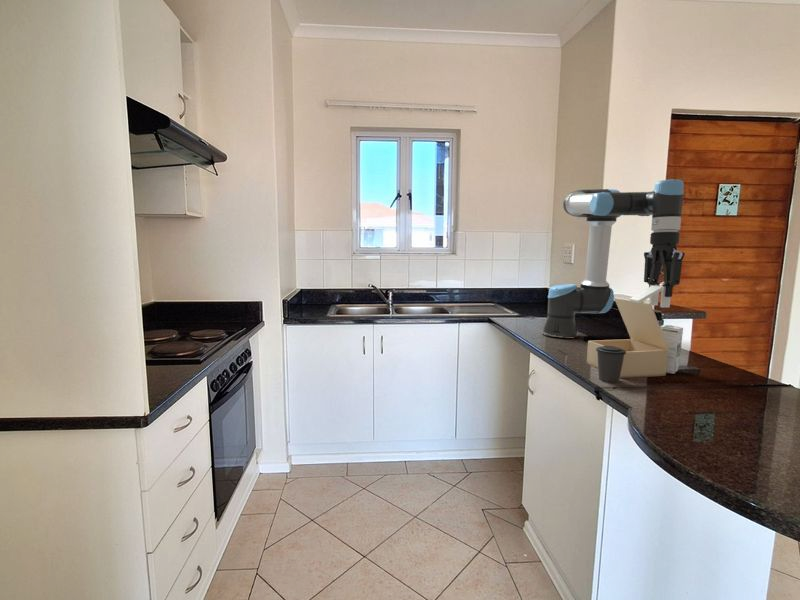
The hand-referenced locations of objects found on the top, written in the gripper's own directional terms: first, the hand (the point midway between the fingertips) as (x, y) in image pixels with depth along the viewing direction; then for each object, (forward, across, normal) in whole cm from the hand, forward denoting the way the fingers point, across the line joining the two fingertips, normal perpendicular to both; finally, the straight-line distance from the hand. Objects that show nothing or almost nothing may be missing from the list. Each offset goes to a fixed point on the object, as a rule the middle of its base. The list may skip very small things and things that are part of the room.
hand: (658, 306), depth 126 cm
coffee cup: (+21, +6, -21) cm, 30 cm away
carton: (+21, -2, -9) cm, 23 cm away
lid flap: (+6, -2, -5) cm, 8 cm away
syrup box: (+21, +1, +4) cm, 22 cm away
